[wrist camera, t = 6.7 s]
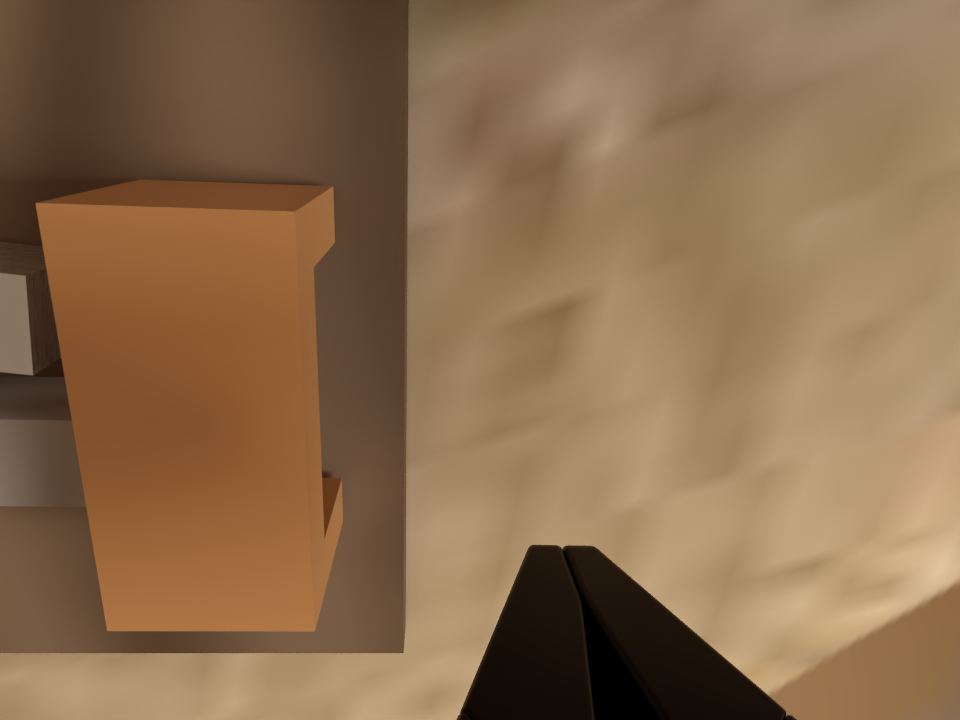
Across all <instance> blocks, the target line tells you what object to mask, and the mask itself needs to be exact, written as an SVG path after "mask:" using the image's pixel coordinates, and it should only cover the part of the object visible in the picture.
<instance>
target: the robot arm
mask: <svg viewBox="0 0 960 720" xmlns="http://www.w3.org/2000/svg"><path fill="white" fill-rule="evenodd" d="M785 717H786V718H785ZM457 720H797V719H795V718H794V717H793V716H791V715H787V716H786V711H785V710H784V709H783V708H782V707H781V706H780V705H779V704H777V703H776V702H775V701H774V700H773V699H772V698H771V697H769V696H768V695H767V694H766V693H765V692H764V691H762V690H761V689H760V688H759V687H758V686H757V685H755V684H754V683H753V682H752V681H751V680H750V679H748V678H747V677H746V676H745V675H744V674H743V673H742V672H740V671H739V670H738V669H737V668H736V667H735V666H733V665H732V664H731V663H730V662H729V661H728V660H726V659H725V658H724V657H723V656H722V655H721V654H719V653H718V652H717V651H716V650H715V649H714V648H712V647H711V646H710V645H709V644H708V643H707V642H705V641H704V640H703V639H702V638H701V637H700V636H698V635H697V634H696V633H695V632H694V631H693V630H691V629H690V628H689V627H688V626H687V625H686V624H684V623H683V622H682V621H681V620H680V619H679V618H677V617H676V616H675V615H674V614H673V613H672V612H670V611H669V610H668V609H667V608H666V607H665V606H663V605H662V604H661V603H660V602H659V601H658V600H656V599H655V598H654V597H653V596H652V595H651V594H649V593H648V592H647V591H646V590H645V589H644V588H642V587H641V586H640V585H639V584H638V583H637V582H636V581H634V580H633V579H632V578H631V577H630V576H629V575H627V574H626V573H625V572H624V571H623V570H622V569H620V568H619V567H618V566H617V565H616V564H615V563H613V562H612V561H611V560H610V559H609V558H608V557H606V556H605V555H604V554H603V553H602V552H601V551H599V550H598V549H597V548H595V547H593V546H565V547H563V549H562V548H561V547H559V546H557V545H531V546H530V547H529V548H528V550H527V553H526V555H525V557H524V560H523V562H522V565H521V567H520V569H519V572H518V574H517V577H516V579H515V581H514V584H513V586H512V589H511V591H510V594H509V596H508V598H507V601H506V603H505V606H504V608H503V610H502V613H501V615H500V618H499V620H498V622H497V625H496V627H495V630H494V632H493V634H492V637H491V639H490V642H489V644H488V647H487V649H486V651H485V654H484V656H483V659H482V661H481V663H480V666H479V668H478V671H477V673H476V675H475V678H474V680H473V683H472V685H471V688H470V690H469V692H468V695H467V697H466V700H465V702H464V704H463V707H462V709H461V712H460V715H459V716H458V718H457Z"/></svg>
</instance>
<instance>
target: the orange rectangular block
mask: <svg viewBox="0 0 960 720" xmlns="http://www.w3.org/2000/svg"><path fill="white" fill-rule="evenodd" d="M36 209H37V215H38V221H39V227H40V233H41V239H42V245H43V251H44V257H45V263H46V269H47V275H48V281H49V287H50V293H51V299H52V305H53V311H54V317H55V323H56V329H57V335H58V341H59V347H60V353H61V359H62V364H63V370H64V376H65V382H66V388H67V394H68V400H69V406H70V412H71V418H72V424H73V430H74V436H75V442H76V448H77V454H78V460H79V466H80V472H81V478H82V484H83V490H84V496H85V502H86V508H87V514H88V520H89V526H90V532H91V538H92V544H93V550H94V556H95V562H96V568H97V573H98V579H99V585H100V591H101V597H102V603H103V609H104V615H105V621H106V627H107V631H291V632H315V629H316V625H317V621H318V617H319V614H320V610H321V606H322V602H323V598H324V594H325V590H326V586H327V582H328V578H329V574H330V570H331V566H332V563H333V559H334V555H335V551H336V547H337V543H338V539H339V535H340V531H341V527H342V523H343V498H342V478H322V464H321V438H320V413H319V388H318V363H317V338H316V313H315V288H314V267H315V265H316V264H317V263H318V262H319V261H320V260H321V258H322V257H323V256H324V255H325V254H326V253H327V251H328V250H329V249H330V248H331V247H332V246H333V244H334V243H335V225H334V190H333V186H312V185H284V184H256V183H228V182H199V181H171V180H143V179H140V180H136V181H131V182H127V183H122V184H118V185H113V186H109V187H105V188H100V189H96V190H91V191H87V192H82V193H78V194H73V195H69V196H64V197H60V198H55V199H51V200H46V201H42V202H37V203H36Z"/></svg>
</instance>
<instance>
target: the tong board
mask: <svg viewBox="0 0 960 720" xmlns="http://www.w3.org/2000/svg"><path fill="white" fill-rule="evenodd" d="M140 179H143V180H171V181H199V182H228V183H256V184H284V185H312V186H333V190H334V225H335V243H334V244H333V246H332V247H331V248H330V249H329V250H328V251H327V253H326V254H325V255H324V256H323V257H322V258H321V260H320V261H319V262H318V263H317V264H316V265H315V267H314V288H315V313H316V338H317V363H318V388H319V413H320V438H321V464H322V478H342V498H343V523H342V527H341V531H340V535H339V539H338V543H337V547H336V551H335V555H334V559H333V563H332V566H331V570H330V574H329V578H328V582H327V586H326V590H325V594H324V598H323V602H322V606H321V610H320V614H319V617H318V621H317V625H316V629H315V632H291V631H107V627H106V621H105V615H104V609H103V603H102V597H101V591H100V585H99V579H98V573H97V568H96V562H95V556H94V550H93V544H92V538H91V532H90V526H89V520H88V514H87V508H86V502H85V496H84V490H83V484H82V478H81V472H80V466H79V460H78V454H77V448H76V442H75V436H74V430H73V424H72V418H71V412H70V406H69V400H68V394H67V388H66V382H65V376H64V370H63V364H62V359H61V358H60V359H58V360H57V361H55V362H54V363H52V364H50V365H49V366H47V367H46V368H44V369H43V370H41V371H39V372H38V373H36V374H35V375H24V374H15V373H5V372H0V653H403V651H404V638H405V597H406V388H407V180H408V0H0V241H4V242H12V243H20V244H28V245H37V246H43V245H42V239H41V233H40V227H39V221H38V215H37V209H36V203H37V202H42V201H46V200H51V199H55V198H60V197H64V196H69V195H73V194H78V193H82V192H87V191H91V190H96V189H100V188H105V187H109V186H113V185H118V184H122V183H127V182H131V181H136V180H140Z"/></svg>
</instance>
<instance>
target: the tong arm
mask: <svg viewBox="0 0 960 720" xmlns="http://www.w3.org/2000/svg"><path fill="white" fill-rule="evenodd" d="M60 358H61V353H60V347H59V341H58V335H57V329H56V323H55V317H54V311H53V305H52V299H51V293H50V287H49V281H48V275H47V269H46V263H45V257H44V251H43V246H37V245H28V244H20V243H12V242H4V241H0V372H5V373H15V374H24V375H35V374H36V373H38V372H39V371H41V370H43V369H44V368H46V367H47V366H49V365H50V364H52V363H54V362H55V361H57V360H58V359H60Z"/></svg>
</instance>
